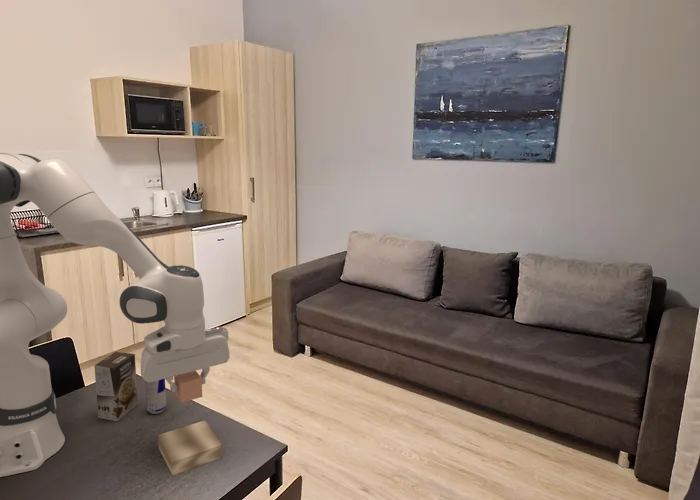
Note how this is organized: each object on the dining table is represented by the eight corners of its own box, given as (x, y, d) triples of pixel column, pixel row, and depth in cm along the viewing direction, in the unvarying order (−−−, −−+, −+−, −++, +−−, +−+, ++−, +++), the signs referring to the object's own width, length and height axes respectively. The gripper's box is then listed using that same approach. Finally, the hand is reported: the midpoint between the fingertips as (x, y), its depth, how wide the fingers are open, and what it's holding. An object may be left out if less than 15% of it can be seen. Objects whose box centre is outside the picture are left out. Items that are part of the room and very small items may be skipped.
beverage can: (170, 409, 136) (167, 361, 133) (154, 417, 132) (151, 368, 128) (158, 403, 139) (156, 356, 135) (143, 411, 135) (140, 363, 131)
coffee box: (118, 422, 129) (114, 368, 125) (97, 418, 130) (92, 365, 127) (139, 404, 138) (135, 353, 134) (119, 400, 139) (115, 350, 135)
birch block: (172, 477, 111) (171, 462, 110) (158, 448, 120) (157, 435, 119) (222, 458, 118) (221, 444, 117) (205, 433, 127) (204, 420, 126)
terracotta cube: (181, 402, 112) (180, 383, 110) (175, 393, 115) (174, 374, 114) (202, 396, 114) (201, 378, 113) (195, 387, 118) (194, 369, 117)
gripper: (223, 320, 120) (224, 370, 123) (136, 338, 108) (140, 393, 111) (233, 329, 115) (234, 381, 118) (143, 349, 103) (147, 405, 106)
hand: (188, 387), depth 114 cm, fingers closed on terracotta cube, 5 cm apart
